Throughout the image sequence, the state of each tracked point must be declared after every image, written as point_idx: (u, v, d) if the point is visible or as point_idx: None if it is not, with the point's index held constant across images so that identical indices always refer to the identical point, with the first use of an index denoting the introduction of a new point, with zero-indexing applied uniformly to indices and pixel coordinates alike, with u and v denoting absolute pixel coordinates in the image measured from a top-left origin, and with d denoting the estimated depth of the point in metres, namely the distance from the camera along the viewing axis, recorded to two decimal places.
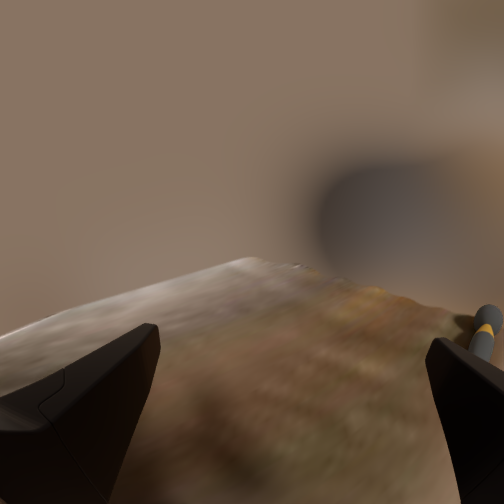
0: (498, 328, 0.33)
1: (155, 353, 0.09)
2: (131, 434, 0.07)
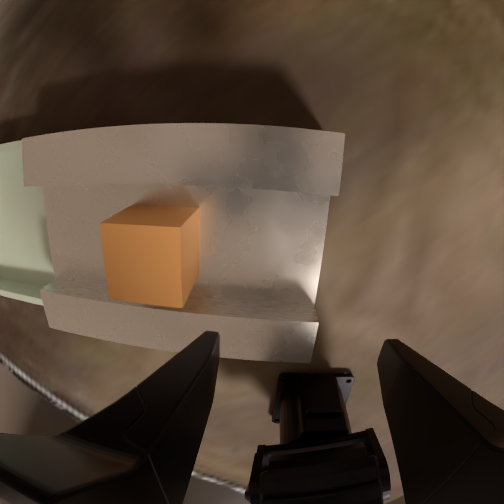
0: None
1: (217, 361, 0.09)
2: (198, 447, 0.07)
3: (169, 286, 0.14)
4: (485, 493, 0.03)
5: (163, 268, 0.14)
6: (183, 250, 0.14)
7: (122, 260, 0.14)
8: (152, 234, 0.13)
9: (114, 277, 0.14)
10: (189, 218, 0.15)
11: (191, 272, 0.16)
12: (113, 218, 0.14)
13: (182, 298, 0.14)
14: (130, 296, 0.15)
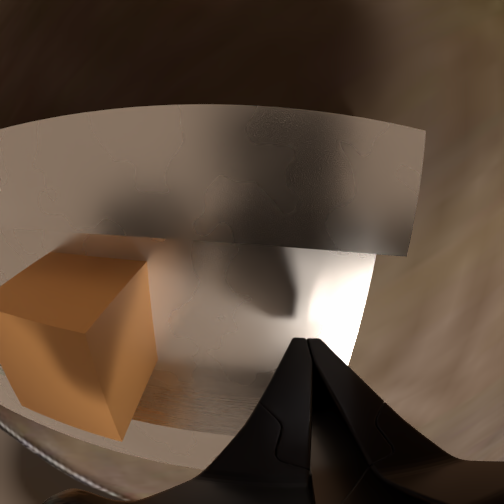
0: None
1: None
2: None
3: (94, 413, 0.07)
4: None
5: (77, 390, 0.06)
6: (106, 362, 0.07)
7: (18, 364, 0.06)
8: (45, 337, 0.06)
9: (17, 383, 0.07)
10: (117, 297, 0.07)
11: (136, 375, 0.09)
12: (1, 291, 0.07)
13: (118, 430, 0.07)
14: (45, 411, 0.07)
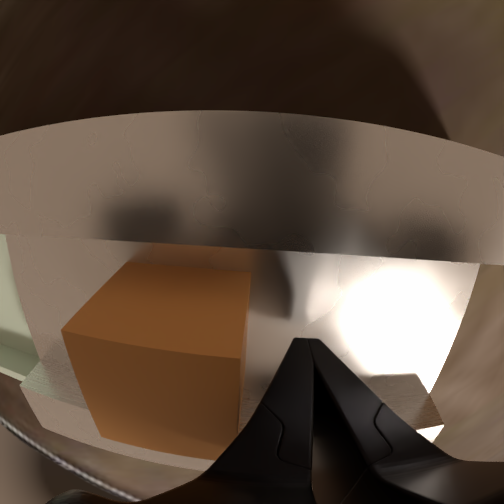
0: None
1: None
2: None
3: (213, 439, 0.07)
4: None
5: (200, 418, 0.06)
6: (239, 383, 0.07)
7: (116, 396, 0.06)
8: (175, 366, 0.06)
9: (105, 415, 0.07)
10: (246, 313, 0.07)
11: None
12: (88, 312, 0.07)
13: None
14: (138, 441, 0.07)
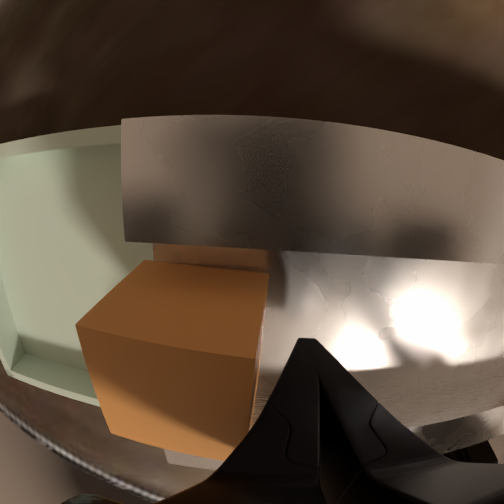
0: None
1: None
2: None
3: (223, 439, 0.07)
4: None
5: (212, 417, 0.06)
6: (253, 384, 0.07)
7: (128, 392, 0.06)
8: (189, 364, 0.06)
9: (116, 411, 0.07)
10: (262, 314, 0.07)
11: (255, 392, 0.09)
12: (104, 308, 0.07)
13: None
14: (148, 439, 0.07)
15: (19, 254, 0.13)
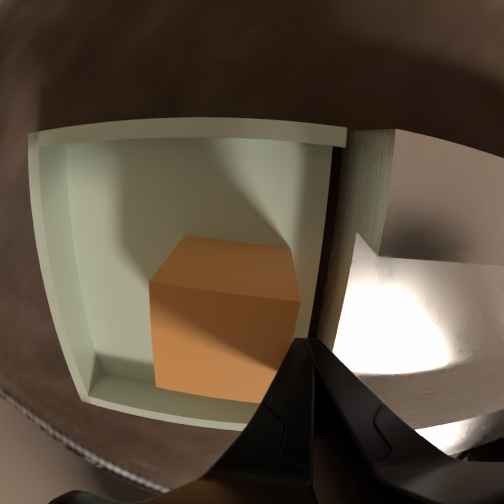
0: None
1: None
2: None
3: None
4: None
5: None
6: (169, 324, 0.08)
7: None
8: None
9: None
10: (213, 292, 0.08)
11: (217, 377, 0.09)
12: (205, 240, 0.11)
13: (157, 377, 0.09)
14: None
15: (116, 261, 0.12)
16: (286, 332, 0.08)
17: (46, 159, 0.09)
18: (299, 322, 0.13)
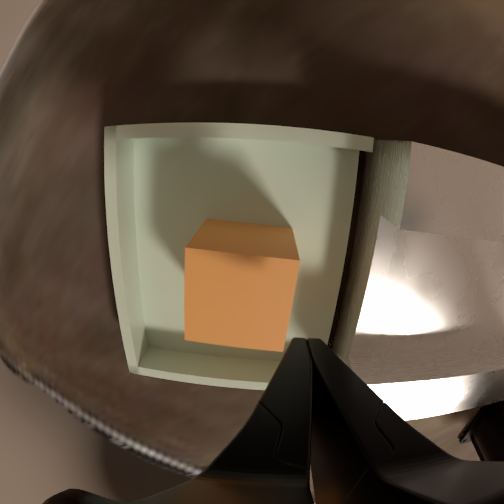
0: None
1: None
2: None
3: None
4: None
5: None
6: (199, 282, 0.11)
7: None
8: None
9: None
10: (234, 254, 0.11)
11: (235, 327, 0.12)
12: (223, 222, 0.14)
13: (186, 330, 0.12)
14: None
15: (176, 240, 0.15)
16: (290, 285, 0.11)
17: (120, 150, 0.12)
18: (330, 292, 0.16)
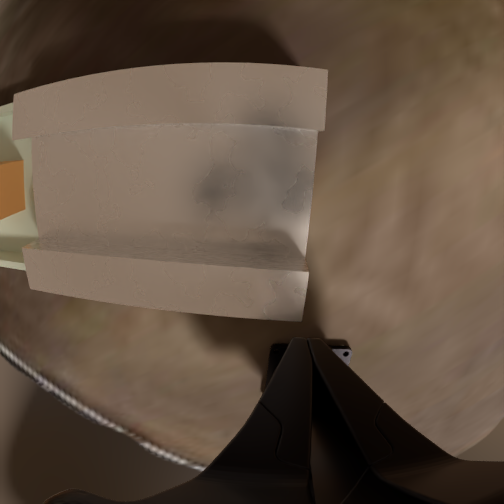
0: None
1: None
2: None
3: None
4: None
5: None
6: None
7: None
8: None
9: None
10: None
11: None
12: None
13: None
14: None
15: None
16: None
17: None
18: None
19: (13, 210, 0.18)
